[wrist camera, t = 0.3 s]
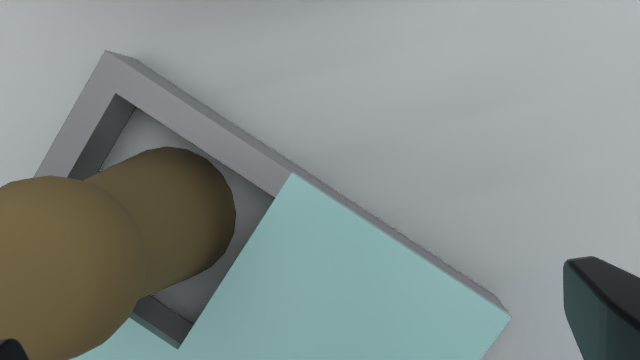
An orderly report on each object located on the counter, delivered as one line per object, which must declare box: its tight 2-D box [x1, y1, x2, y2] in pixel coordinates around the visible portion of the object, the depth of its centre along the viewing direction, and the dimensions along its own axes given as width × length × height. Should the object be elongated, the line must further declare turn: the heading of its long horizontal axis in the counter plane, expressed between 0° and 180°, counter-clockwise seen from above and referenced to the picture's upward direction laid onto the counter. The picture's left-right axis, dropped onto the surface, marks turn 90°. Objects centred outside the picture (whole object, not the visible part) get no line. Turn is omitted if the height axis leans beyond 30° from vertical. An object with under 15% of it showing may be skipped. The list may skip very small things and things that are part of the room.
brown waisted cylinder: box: [0, 147, 236, 360], centre depth 19 cm, size 6×6×11 cm
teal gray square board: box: [33, 50, 512, 360], centre depth 24 cm, size 19×19×2 cm
